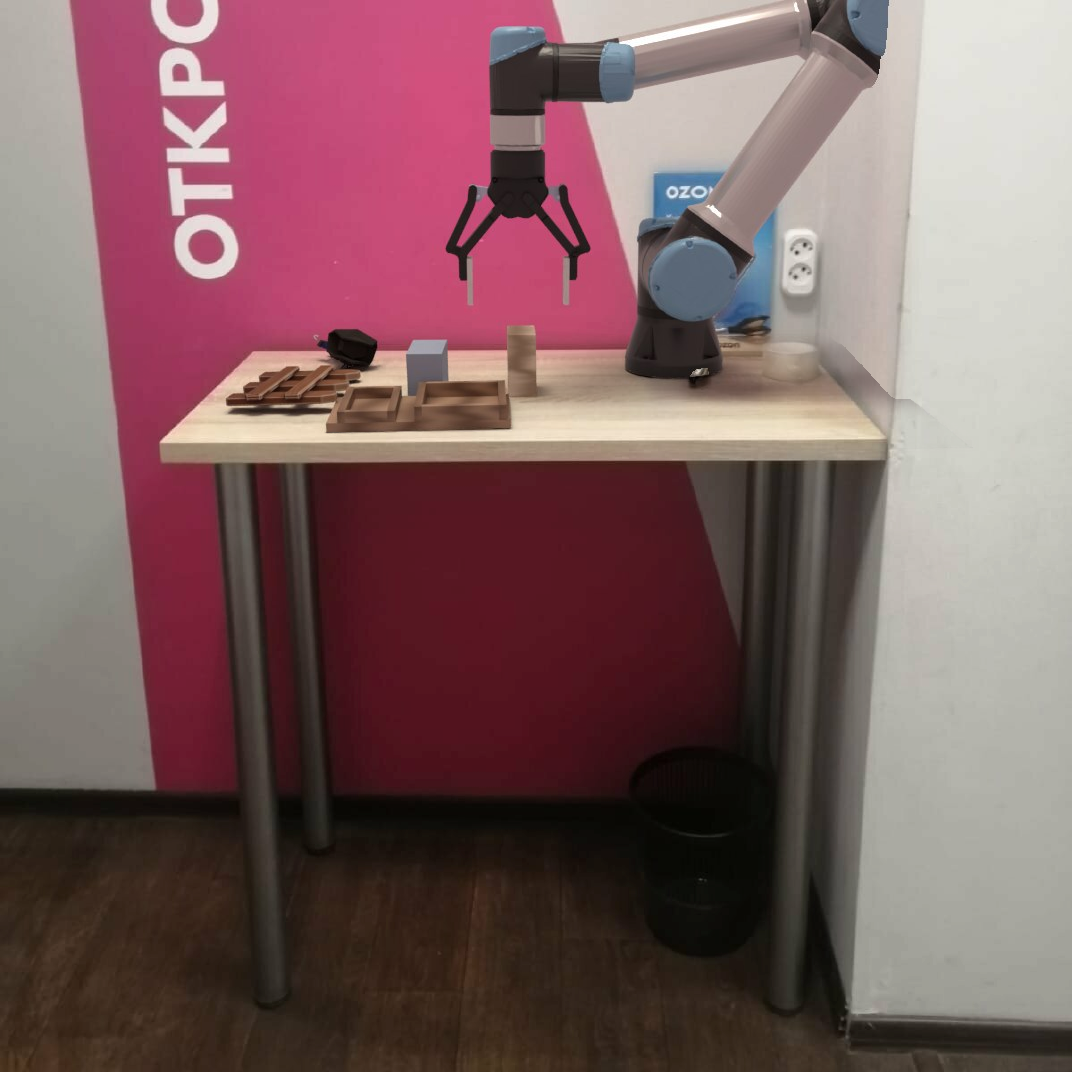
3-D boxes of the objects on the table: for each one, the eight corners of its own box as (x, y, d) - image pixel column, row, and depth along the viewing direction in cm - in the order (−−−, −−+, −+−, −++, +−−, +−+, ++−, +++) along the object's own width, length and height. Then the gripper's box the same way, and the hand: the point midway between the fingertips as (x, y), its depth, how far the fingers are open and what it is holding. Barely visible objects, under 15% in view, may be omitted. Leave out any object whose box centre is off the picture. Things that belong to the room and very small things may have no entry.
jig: (509, 402, 179) (508, 380, 178) (510, 428, 166) (510, 404, 165) (338, 405, 178) (336, 383, 177) (326, 432, 165) (324, 408, 164)
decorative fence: (224, 407, 173) (332, 405, 172) (222, 395, 173) (331, 392, 172) (267, 378, 195) (363, 375, 194) (265, 366, 195) (362, 364, 194)
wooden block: (534, 385, 188) (534, 325, 185) (536, 397, 182) (535, 334, 179) (507, 386, 188) (506, 325, 185) (508, 397, 182) (507, 335, 179)
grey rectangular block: (448, 386, 189) (447, 339, 187) (443, 402, 180) (441, 353, 177) (415, 386, 189) (413, 339, 187) (408, 402, 180) (405, 354, 177)
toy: (366, 343, 212) (388, 334, 198) (358, 380, 211) (379, 374, 197) (312, 328, 208) (331, 319, 194) (304, 366, 208) (322, 359, 194)
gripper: (606, 146, 177) (603, 298, 185) (427, 146, 176) (431, 299, 184) (611, 149, 170) (607, 307, 178) (425, 149, 169) (429, 308, 177)
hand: (518, 303), depth 181 cm, fingers open, 13 cm apart
